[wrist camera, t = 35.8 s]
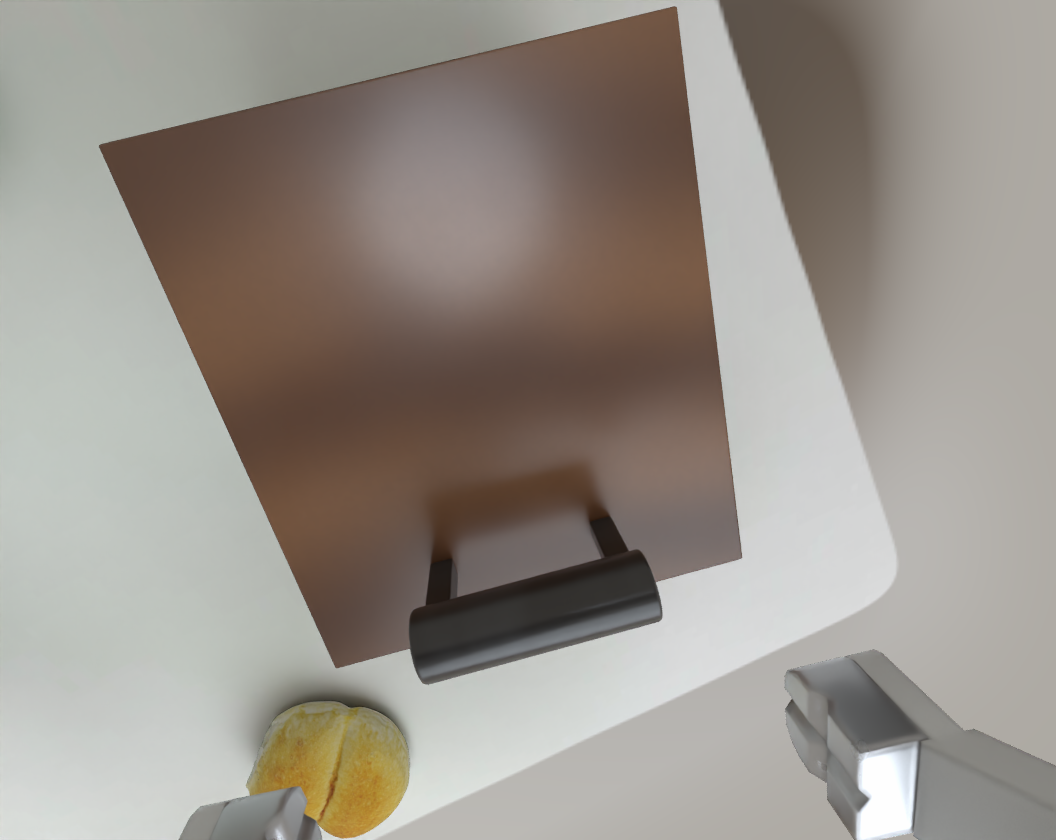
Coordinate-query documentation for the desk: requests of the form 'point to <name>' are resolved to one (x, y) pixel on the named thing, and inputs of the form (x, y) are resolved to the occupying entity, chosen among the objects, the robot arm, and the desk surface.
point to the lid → (460, 339)
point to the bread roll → (335, 764)
